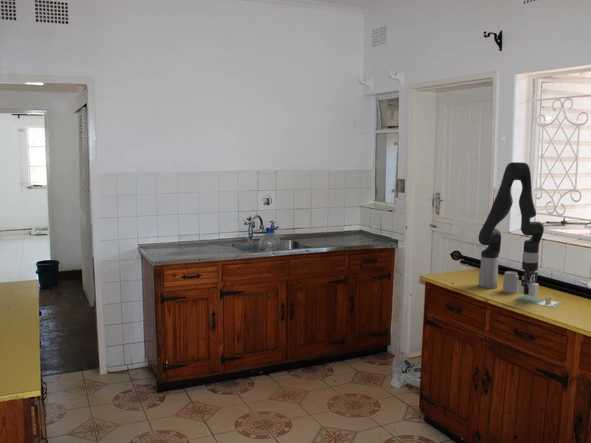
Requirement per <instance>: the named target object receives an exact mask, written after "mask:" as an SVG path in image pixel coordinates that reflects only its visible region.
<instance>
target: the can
mask: <svg viewBox="0 0 591 443" xmlns="http://www.w3.org/2000/svg"><path fill="white" fill-rule="evenodd" d="M502 278H503V279H502V280H503V282H502V292H504V293H508V294H517V293H519V275H518V272H517V271H510V270H508V271H505V272H504V273H503V277H502Z"/></svg>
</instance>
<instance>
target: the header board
mask: <svg viewBox="0 0 591 443" xmlns="http://www.w3.org/2000/svg"><path fill="white" fill-rule="evenodd" d="M513 300H514V301H519V302H524V303H528V304H533V305H537V306H542V307H546V308H547V307H548V308H552V309H554V308H556V307H559V306H561V305H562V304H564V303H563V302H561V301H555V300H552V296H551V295H550V296H547V297H545V298H540V297H537V296H535V297H533V296H528V295H524V294H523V295H521V296H519V297H517V298H513Z"/></svg>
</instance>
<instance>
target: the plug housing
mask: <svg viewBox="0 0 591 443" xmlns="http://www.w3.org/2000/svg"><path fill="white" fill-rule="evenodd" d="M527 284H528V283H527ZM539 285H540V284H539V283H537V282H536V283H532V282H531V283H530V284H529V293H528V295H526V294H524V287H523V286H522V284H521V281H518V294H520V295H523V296H524V295H526V296H531V297H537V296H539V287H540V286H539Z"/></svg>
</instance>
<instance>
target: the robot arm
mask: <svg viewBox="0 0 591 443" xmlns="http://www.w3.org/2000/svg"><path fill="white" fill-rule="evenodd" d="M514 181H520V184H521V192H520V196H519V199H518V206H519V211H520V214H521V220H520V222H521V223H520V231H521V232H522V234H523V236H526V237H528V236H529V237H530V236H531V237H530V238H528V239H525V240H524V242H523V250H522V251H523V253H522V259H521V260H522V262H521V269H522V270H523V271H524V273H523V275H521V276H520V282H521V284H522V286H523V287H524V294H526V296H528V293H529V284H530V283H531V282H532V283H537V280H538V275H539V274H538V270H539V258H540V257H539V256H540V255H539V251H540V248H539V247H540V243H541V241H542V238H543V234H544V232H545V231H544V230H545V228H544V225H543V223H542V222H541V221H538V220H537V221H530V219H532V218H534V217H536V216H537V211H536V206H535V202H534V198H533V188H532V185H533V184H532V175H531V168H530V166H529V164H528V163H527V162H519V161H518V162H514V161H513V162H510V163H508V164H507V165H506V167H505V169H504V172H503V176H502V180H501V182H500V186H499V188H498V191H497V193H496V196H495V198H494V200H493V203H492V206H491V208H490V210H489V212H488V214H487V218H486V220H485V222H484V223H483V225H482V227H481V228H480V231H479V234H478V242H479V243H480V244H481V245H482V246H486V248H485V249H483V250H481V253H480V268H479V269H478V286H479V287H481V288H484V289H496V288H498V276H499V275H498V274H499V255H500V252H501V246H502V245H501V244H502V233H501V230H499V229H498V228H496V227H497V226H498V224H500V223H501V222H502V221H503V220H504V219H505V218H506V216H508V215H509V213H510V211H511V208H512V206H513V204H514V201H513V195H512V185H513V184H514ZM527 283H528V284H527ZM524 294H523V295H524Z"/></svg>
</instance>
